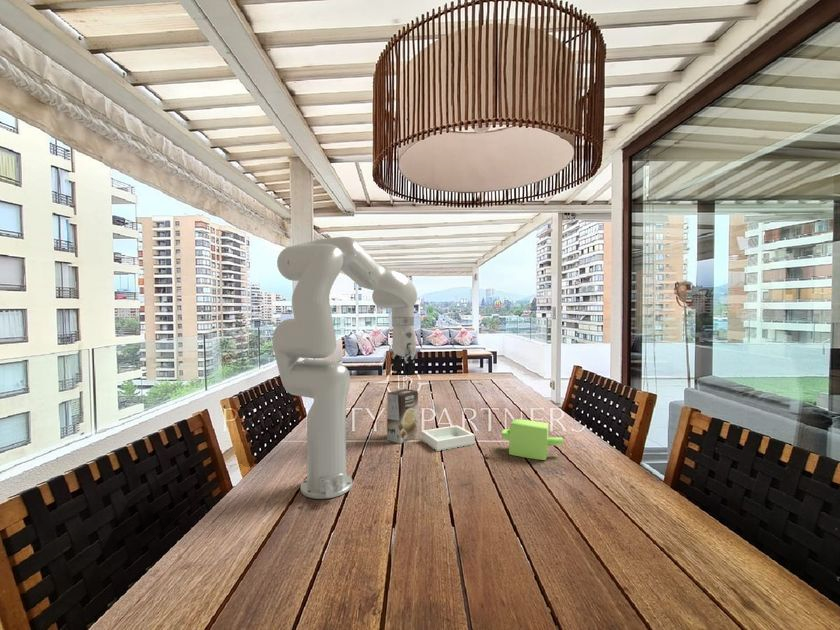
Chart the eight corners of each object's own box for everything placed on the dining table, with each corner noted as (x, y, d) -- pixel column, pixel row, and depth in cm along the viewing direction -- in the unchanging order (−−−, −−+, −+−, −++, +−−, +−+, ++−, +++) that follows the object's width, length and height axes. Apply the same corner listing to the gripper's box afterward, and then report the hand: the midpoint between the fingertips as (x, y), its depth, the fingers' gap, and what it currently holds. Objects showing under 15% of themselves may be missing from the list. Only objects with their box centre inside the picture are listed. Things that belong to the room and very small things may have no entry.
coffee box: (400, 444, 125) (400, 395, 125) (386, 440, 130) (386, 392, 129) (418, 436, 133) (418, 390, 132) (404, 433, 137) (404, 388, 136)
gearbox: (563, 453, 120) (564, 422, 120) (562, 464, 110) (563, 431, 111) (504, 444, 126) (505, 415, 126) (499, 453, 117) (500, 422, 117)
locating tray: (474, 444, 125) (474, 434, 125) (437, 451, 119) (437, 441, 119) (457, 434, 135) (457, 425, 135) (421, 440, 129) (421, 430, 129)
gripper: (424, 323, 124) (424, 375, 125) (402, 320, 140) (403, 367, 140) (402, 324, 121) (403, 378, 121) (383, 321, 136) (383, 369, 137)
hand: (403, 372), depth 131 cm, fingers open, 9 cm apart
